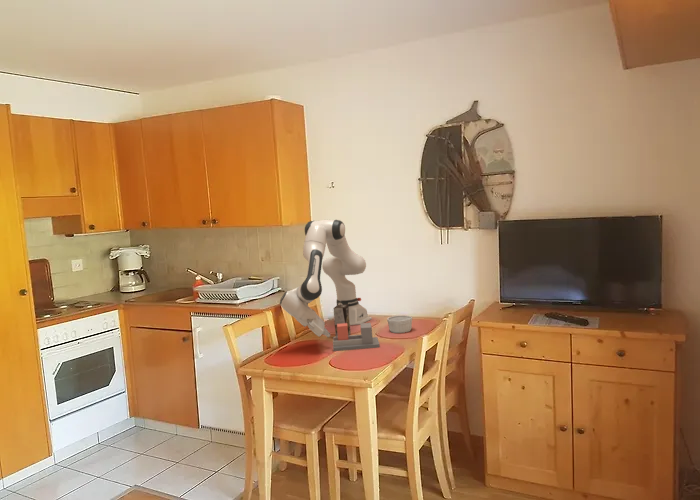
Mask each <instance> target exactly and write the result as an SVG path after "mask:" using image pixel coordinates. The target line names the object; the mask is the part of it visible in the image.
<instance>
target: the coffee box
mask: <svg viewBox="0 0 700 500" xmlns="http://www.w3.org/2000/svg"><path fill="white" fill-rule="evenodd" d="M333 318H334V319H333V320H334V321H333V322H334V333H335V335H334V336H335V337H338V333H337V324H342V323H347V327H348V336H351V325H350V320H349V308H348V305H337V304H336V306H334V307H333Z"/></svg>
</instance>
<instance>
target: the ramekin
mask: <svg viewBox="0 0 700 500" xmlns="http://www.w3.org/2000/svg"><path fill="white" fill-rule="evenodd" d="M387 324H388V329H389V331H390V333H394V334H404V333H405V332H406V333H409V332H410V331H411V330H412V328H413V327H412V325H413V316H411V315H406V314H405V315H404V314H402V315H393V316H388V317H387Z"/></svg>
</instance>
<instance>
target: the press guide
mask: <svg viewBox="0 0 700 500" xmlns="http://www.w3.org/2000/svg"><path fill="white" fill-rule="evenodd" d="M359 325H360V334H354V335H349V336H348V340H339V341H338V337H336V336H333V337H332V348H333V349H332V351H333V352H339V351H341V352H342V351H351V350H362V349H375V348H377V349H378V348H380V347H381V346H380V341H379V337H377V336H374V337H373V327H372V324H371V322H364V323H361V324H359Z"/></svg>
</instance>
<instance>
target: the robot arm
mask: <svg viewBox="0 0 700 500" xmlns="http://www.w3.org/2000/svg"><path fill="white" fill-rule="evenodd" d="M345 234H346V226H345V223H344V222H343V221H342V220H341V219H321V220H311V221H308V222H307V223H306V224H305V226H304V235H305V238H304V241H303V247H302V249H303V250H302V254H303V255H302V256H303V258H304V259H305V260H306V261H308V266H307V273H306V278H305V280H304V281H303V282H302V283H301V284H300V285H299V286H297V287H295V288H293V289H291V290H286V291H285V292H284V294H282V297H281V298H280V301H279V305H280V307H281V308H282V309H283V310H284V311H285V312H286V313H287V314H288V315H290V316H292V317H293V318H294V319H295V320H296V322H298V323H300V324H301V326H303V327H308V329H309V330H310V331H312V333H314V334H315V336H317V337H321V336H322V335H324V336H325V337H326V338H330V337H331V332H330V331H328V330H327V328H326V327H325V324H326V322H325V321H324V320H323V319H322V318H321V317H320V316H319V315H318V313H317V312H316V311H315V310H314V309H312V308H311V307H310V306H309V304H311V302H313V301H314V300H317V299H318V298H319V297H320V296H321V295H322V291H323V287H322V282H321V273H322V270H323V272H324V273H325V275H326V276H328V277H329V278H330V279H331V281H332V282H333V284H334V286H335V291H336V301H335V303H336V306H337V305H348V308H349V320H350V326H354V325H356V326H357V325H360V324H361V323H367V322H368V321H370V320H373V318H372V316H370V315H369V314H368V310H367V309H366V308H365V307H364V306H362V305H361V304H360V302H361V301H362V298H361V297H357V292H356V284H354V282H353V281H350V280H348V278H347V277H346V276H356V275H359V274H363V273H364V272H365V271H366V267H367V263H366V260H365V258H364V257H363V256H361V255H359V254H357V253H355V252H354V251H353V250H352V249H351V248H350V246H349V244H348V241H347V238H346V236H345ZM326 246H327V247H326ZM326 248H327V249H328V252H329V254H330V255H331V256H330V257H329V256H328V257H326V258H324V255H325V251H326ZM323 259H324V260H323Z"/></svg>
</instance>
